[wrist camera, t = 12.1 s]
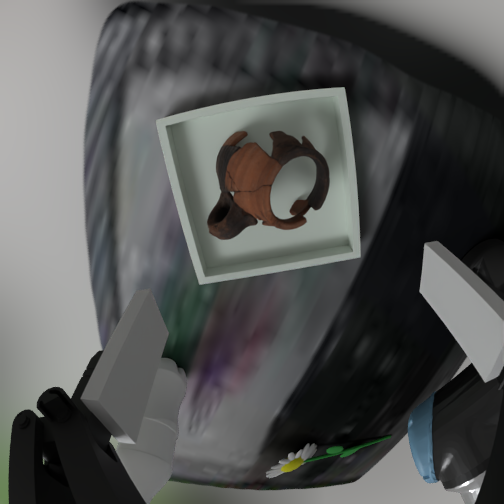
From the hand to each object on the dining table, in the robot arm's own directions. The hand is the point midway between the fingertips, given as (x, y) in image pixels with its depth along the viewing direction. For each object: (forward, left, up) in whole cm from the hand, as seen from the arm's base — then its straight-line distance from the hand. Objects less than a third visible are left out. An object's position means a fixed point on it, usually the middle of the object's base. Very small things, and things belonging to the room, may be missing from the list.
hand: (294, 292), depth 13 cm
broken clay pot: (+1, -2, -18) cm, 18 cm away
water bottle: (+19, +23, -19) cm, 36 cm away
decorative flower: (-5, +57, -19) cm, 60 cm away
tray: (0, -1, -19) cm, 19 cm away
